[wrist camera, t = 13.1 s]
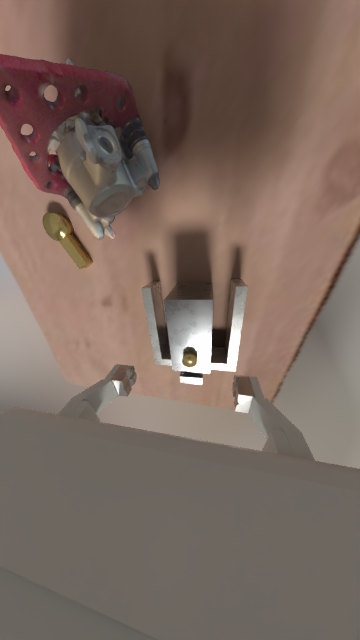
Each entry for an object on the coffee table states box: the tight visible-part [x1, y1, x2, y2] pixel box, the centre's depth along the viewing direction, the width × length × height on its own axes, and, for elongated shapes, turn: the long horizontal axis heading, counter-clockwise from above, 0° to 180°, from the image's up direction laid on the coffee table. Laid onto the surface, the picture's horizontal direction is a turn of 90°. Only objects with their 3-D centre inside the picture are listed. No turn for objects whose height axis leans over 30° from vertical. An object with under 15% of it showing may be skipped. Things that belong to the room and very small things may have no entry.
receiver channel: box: [141, 279, 248, 385], centre depth 20 cm, size 13×12×7 cm
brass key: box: [43, 212, 93, 269], centre depth 20 cm, size 7×3×2 cm, turn 29°
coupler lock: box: [164, 283, 213, 374], centre depth 19 cm, size 10×5×8 cm, turn 4°
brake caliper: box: [0, 54, 160, 240], centre depth 13 cm, size 11×11×12 cm
